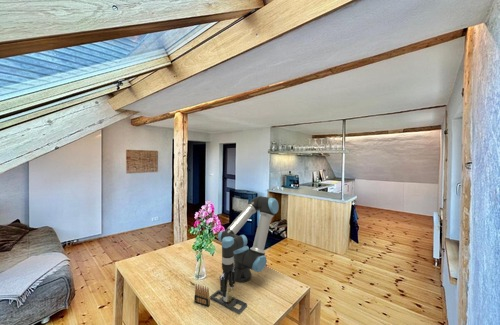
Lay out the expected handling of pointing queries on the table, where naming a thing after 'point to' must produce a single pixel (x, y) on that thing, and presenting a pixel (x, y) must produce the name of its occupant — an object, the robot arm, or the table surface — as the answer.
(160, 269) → the table surface
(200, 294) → the ammunition clip
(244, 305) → the grey slotted plate
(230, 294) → the block
